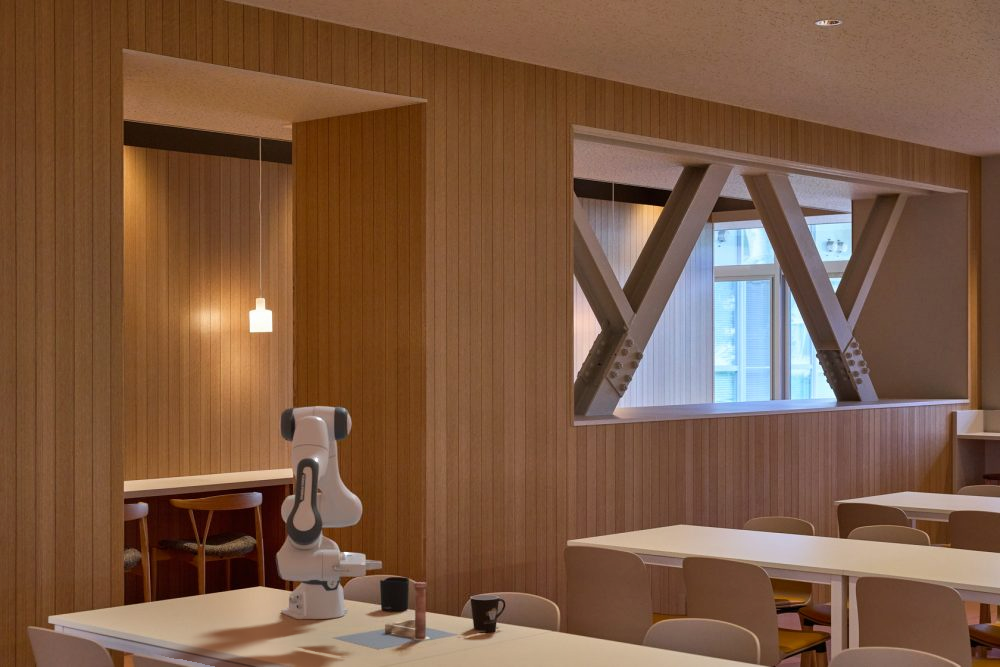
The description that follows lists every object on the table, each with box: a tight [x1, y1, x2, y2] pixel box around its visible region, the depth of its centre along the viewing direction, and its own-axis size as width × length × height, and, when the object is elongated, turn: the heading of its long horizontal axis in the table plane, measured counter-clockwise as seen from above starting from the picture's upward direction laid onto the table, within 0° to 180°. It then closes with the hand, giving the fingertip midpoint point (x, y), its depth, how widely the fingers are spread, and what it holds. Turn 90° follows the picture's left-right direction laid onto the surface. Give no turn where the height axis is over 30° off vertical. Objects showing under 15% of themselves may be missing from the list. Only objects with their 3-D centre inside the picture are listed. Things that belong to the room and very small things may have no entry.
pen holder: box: [379, 576, 410, 613], centre depth 408 cm, size 9×9×10 cm
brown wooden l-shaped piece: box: [392, 581, 428, 639], centre depth 360 cm, size 13×4×16 cm, turn 48°
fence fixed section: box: [384, 618, 415, 634], centre depth 370 cm, size 15×3×2 cm, turn 140°
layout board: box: [333, 627, 459, 650], centre depth 361 cm, size 22×29×1 cm
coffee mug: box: [469, 594, 506, 634], centre depth 372 cm, size 12×9×10 cm
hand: (381, 564), depth 357 cm, fingers closed
